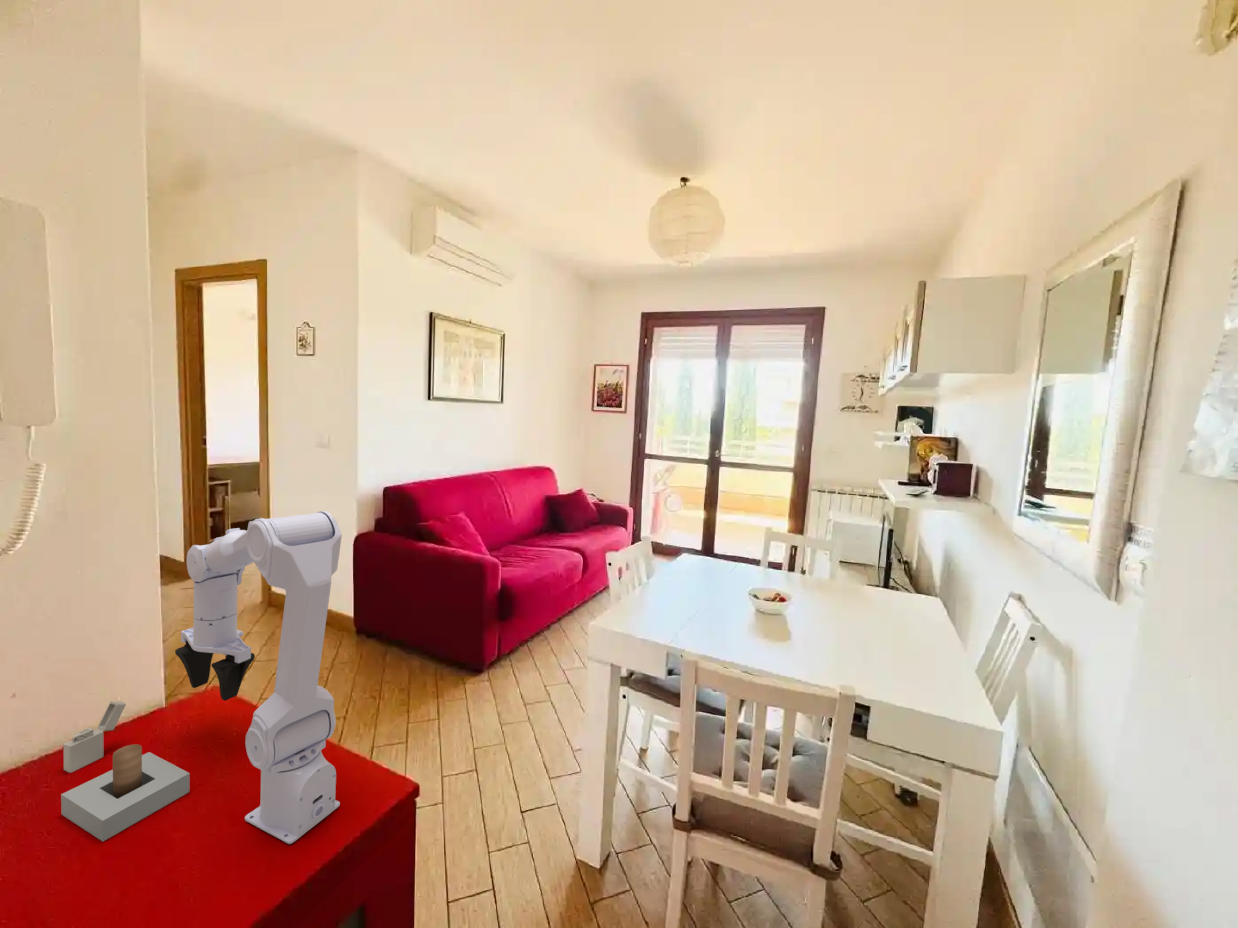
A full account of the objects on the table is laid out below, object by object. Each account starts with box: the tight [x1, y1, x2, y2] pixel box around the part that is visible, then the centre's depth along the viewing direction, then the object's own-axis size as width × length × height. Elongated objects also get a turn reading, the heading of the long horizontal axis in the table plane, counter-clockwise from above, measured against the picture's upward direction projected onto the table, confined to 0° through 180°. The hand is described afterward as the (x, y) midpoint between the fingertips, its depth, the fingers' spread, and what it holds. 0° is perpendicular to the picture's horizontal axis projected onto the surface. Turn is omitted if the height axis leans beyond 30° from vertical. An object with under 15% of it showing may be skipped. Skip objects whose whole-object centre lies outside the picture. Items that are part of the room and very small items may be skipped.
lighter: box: [63, 700, 127, 773], centre depth 81 cm, size 7×2×8 cm, turn 163°
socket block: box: [60, 751, 191, 842], centre depth 73 cm, size 10×10×3 cm
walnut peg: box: [112, 743, 143, 799], centre depth 73 cm, size 3×3×8 cm
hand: (214, 691), depth 86 cm, fingers open, 7 cm apart
